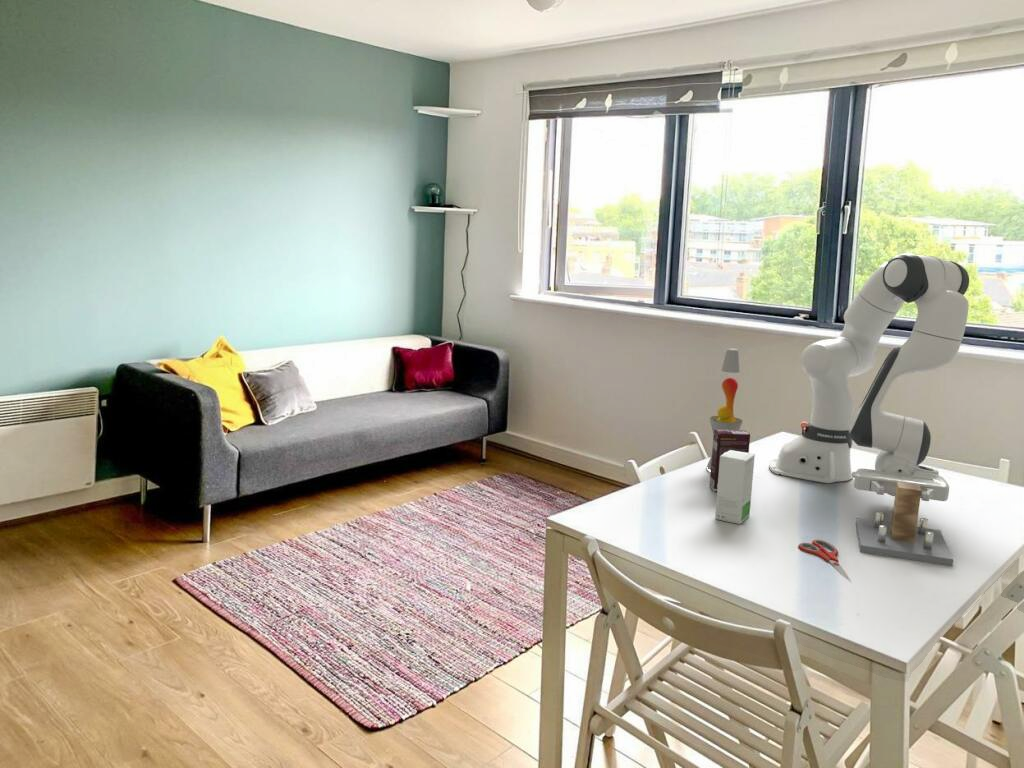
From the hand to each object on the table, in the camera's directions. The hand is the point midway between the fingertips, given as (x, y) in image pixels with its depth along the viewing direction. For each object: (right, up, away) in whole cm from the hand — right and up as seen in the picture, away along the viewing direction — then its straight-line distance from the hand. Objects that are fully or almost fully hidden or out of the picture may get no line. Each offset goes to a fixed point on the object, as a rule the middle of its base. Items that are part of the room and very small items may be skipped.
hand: (903, 494), depth 187 cm
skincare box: (-36, -7, +10) cm, 38 cm away
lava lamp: (-29, 0, +47) cm, 55 cm away
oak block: (-2, -9, -3) cm, 10 cm away
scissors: (-21, -13, -15) cm, 29 cm away
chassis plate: (-2, -11, -3) cm, 11 cm away
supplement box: (-32, -3, +30) cm, 44 cm away
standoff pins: (-2, -9, -3) cm, 10 cm away
